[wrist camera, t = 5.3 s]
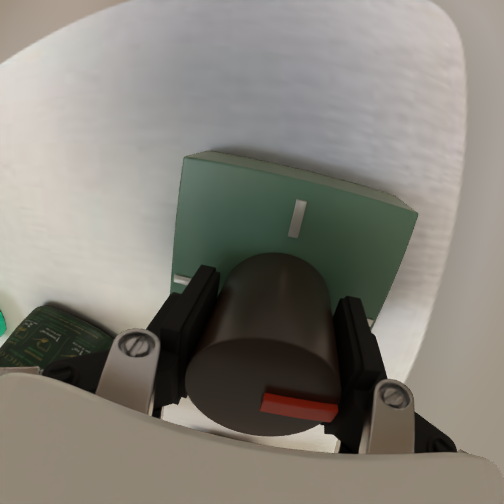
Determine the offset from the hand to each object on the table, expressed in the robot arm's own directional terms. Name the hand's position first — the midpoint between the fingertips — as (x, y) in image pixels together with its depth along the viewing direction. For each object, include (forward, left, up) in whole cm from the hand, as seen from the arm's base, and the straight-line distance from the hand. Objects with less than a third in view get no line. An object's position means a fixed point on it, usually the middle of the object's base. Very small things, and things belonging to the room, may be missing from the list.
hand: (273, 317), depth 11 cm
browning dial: (0, 0, -1) cm, 1 cm away
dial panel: (0, 0, -4) cm, 4 cm away
